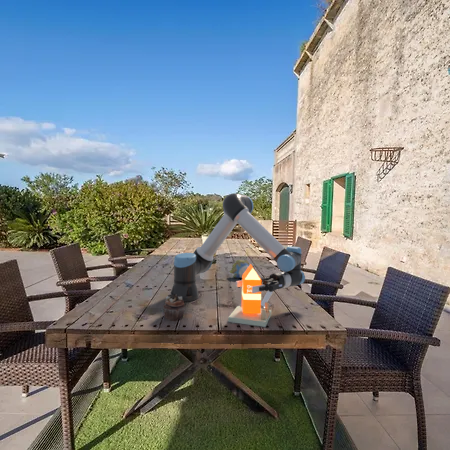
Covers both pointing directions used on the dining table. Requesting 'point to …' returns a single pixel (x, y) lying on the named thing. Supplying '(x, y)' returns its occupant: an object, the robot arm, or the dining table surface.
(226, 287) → the dining table surface
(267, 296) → the wrench
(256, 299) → the orange juice
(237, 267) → the globe
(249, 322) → the plinth
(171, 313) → the cupcake
